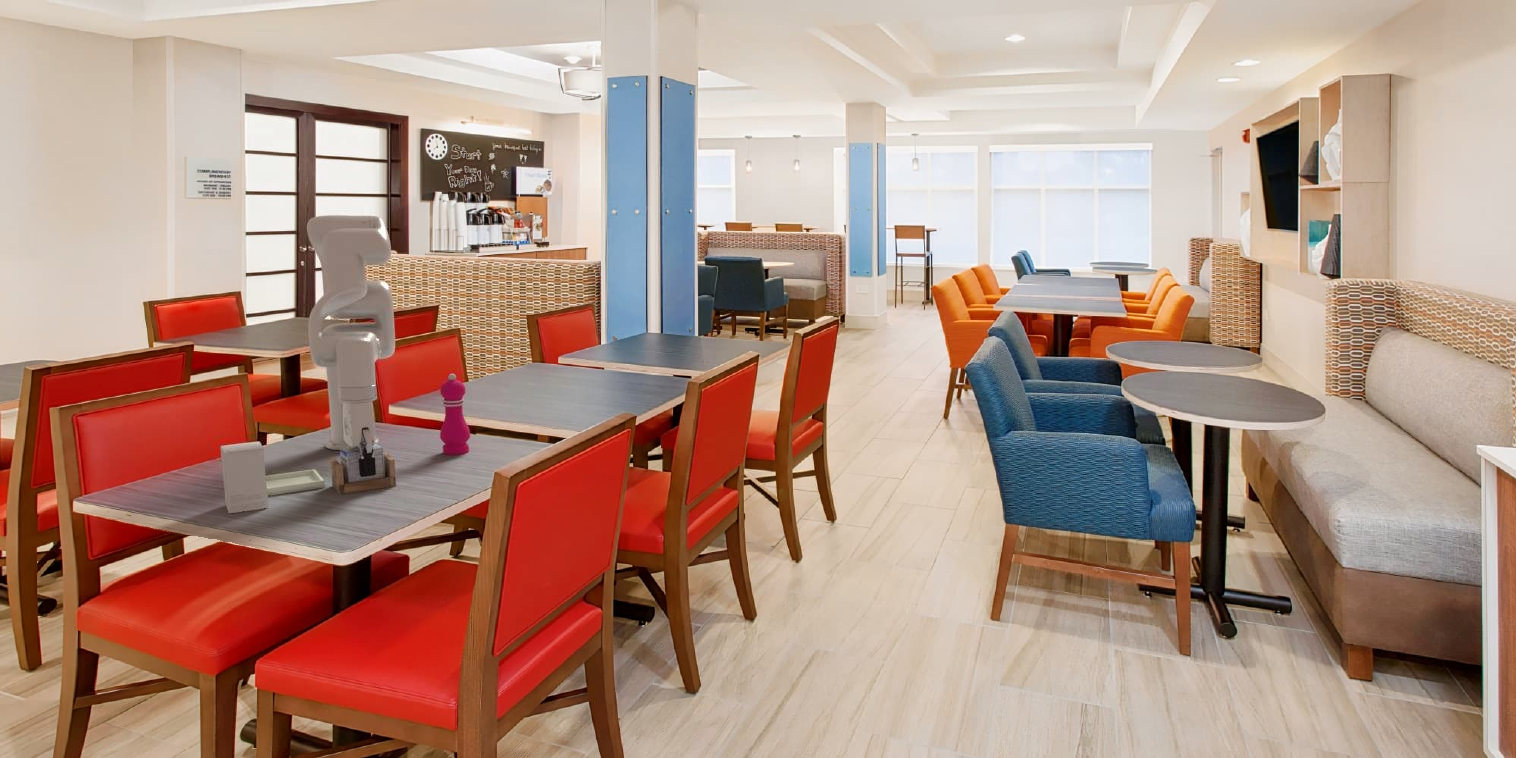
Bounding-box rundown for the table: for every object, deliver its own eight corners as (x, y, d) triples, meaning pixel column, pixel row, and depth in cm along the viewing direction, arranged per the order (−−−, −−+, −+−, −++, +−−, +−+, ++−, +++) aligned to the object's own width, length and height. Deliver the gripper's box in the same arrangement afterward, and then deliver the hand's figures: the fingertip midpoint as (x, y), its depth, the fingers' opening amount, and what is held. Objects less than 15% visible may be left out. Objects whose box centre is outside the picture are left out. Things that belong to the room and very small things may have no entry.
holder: (332, 485, 206) (330, 459, 205) (387, 477, 213) (385, 452, 212) (339, 494, 200) (337, 466, 199) (396, 485, 207) (394, 459, 206)
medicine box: (378, 480, 211) (375, 443, 209) (386, 484, 207) (383, 446, 206) (342, 487, 205) (339, 449, 204) (349, 491, 202) (346, 452, 201)
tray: (260, 483, 208) (259, 476, 208) (315, 475, 214) (314, 469, 214) (267, 495, 199) (267, 488, 198) (324, 487, 205) (324, 480, 205)
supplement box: (269, 508, 190) (264, 447, 188) (227, 514, 186) (221, 452, 184) (265, 499, 196) (260, 440, 194) (225, 504, 193) (219, 445, 190)
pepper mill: (461, 456, 232) (457, 376, 229) (435, 454, 234) (430, 375, 230) (476, 449, 239) (472, 372, 236) (450, 447, 241) (446, 370, 237)
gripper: (331, 389, 208) (336, 465, 211) (347, 401, 194) (353, 483, 197) (366, 385, 212) (371, 460, 215) (385, 397, 198) (391, 477, 201)
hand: (363, 471), depth 206 cm, fingers open, 8 cm apart
